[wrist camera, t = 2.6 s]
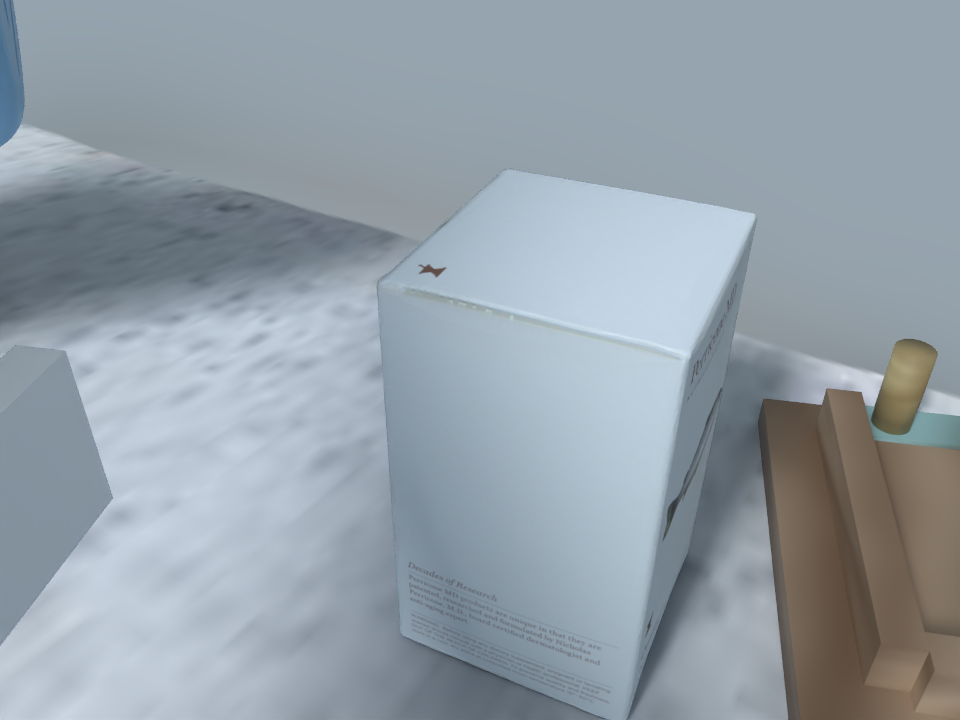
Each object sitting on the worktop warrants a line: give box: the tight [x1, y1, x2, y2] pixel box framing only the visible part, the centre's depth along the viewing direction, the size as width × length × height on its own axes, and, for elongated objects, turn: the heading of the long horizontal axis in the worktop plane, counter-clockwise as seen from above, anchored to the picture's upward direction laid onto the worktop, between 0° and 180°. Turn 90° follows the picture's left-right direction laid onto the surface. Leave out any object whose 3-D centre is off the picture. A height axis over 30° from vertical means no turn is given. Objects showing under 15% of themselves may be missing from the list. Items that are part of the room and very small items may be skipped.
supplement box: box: [377, 169, 757, 720], centre depth 25 cm, size 7×7×13 cm
